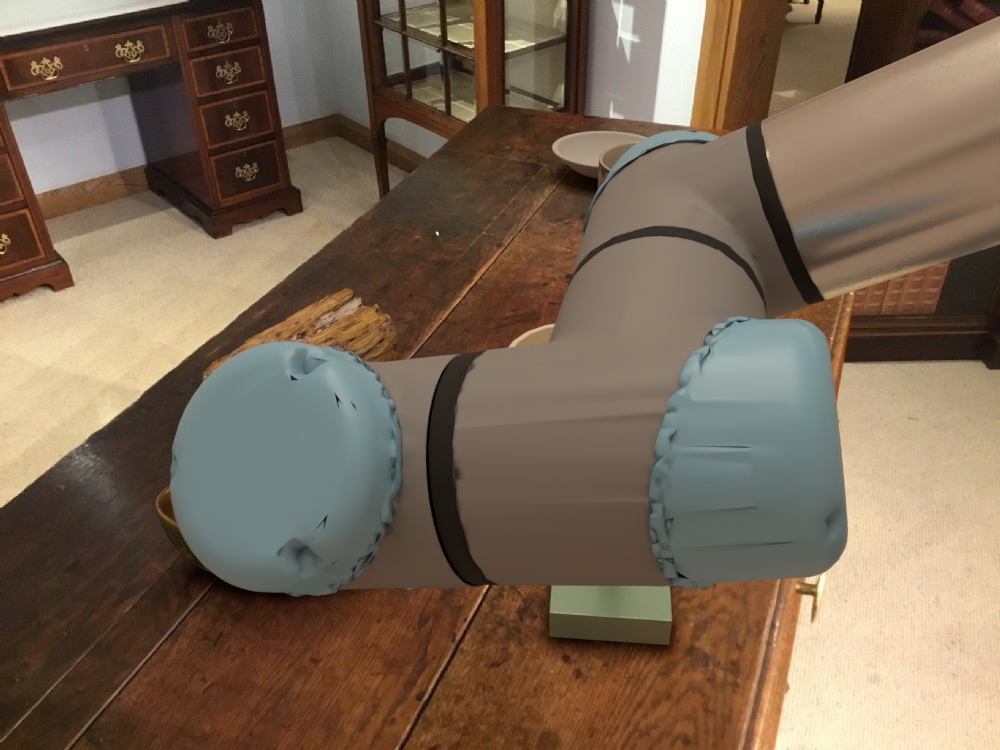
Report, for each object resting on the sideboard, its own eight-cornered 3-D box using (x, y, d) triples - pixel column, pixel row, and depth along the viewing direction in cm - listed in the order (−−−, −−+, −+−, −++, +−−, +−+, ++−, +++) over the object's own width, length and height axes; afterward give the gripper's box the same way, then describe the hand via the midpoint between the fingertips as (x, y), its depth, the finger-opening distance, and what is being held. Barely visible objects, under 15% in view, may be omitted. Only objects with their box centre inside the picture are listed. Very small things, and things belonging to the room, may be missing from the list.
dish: (539, 190, 132) (539, 159, 129) (566, 155, 143) (567, 126, 140) (652, 204, 127) (654, 172, 124) (671, 166, 137) (674, 136, 134)
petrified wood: (328, 341, 100) (331, 272, 93) (415, 395, 95) (424, 327, 89) (195, 428, 87) (187, 355, 80) (288, 496, 82) (288, 424, 76)
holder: (669, 645, 65) (672, 621, 64) (549, 637, 66) (549, 612, 65) (663, 554, 73) (666, 529, 71) (556, 547, 74) (556, 523, 72)
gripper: (225, 486, 43) (414, 505, 62) (712, 685, 33) (756, 634, 52) (274, 345, 43) (446, 407, 63) (768, 499, 33) (791, 516, 53)
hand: (587, 510), depth 58 cm, fingers open, 13 cm apart
